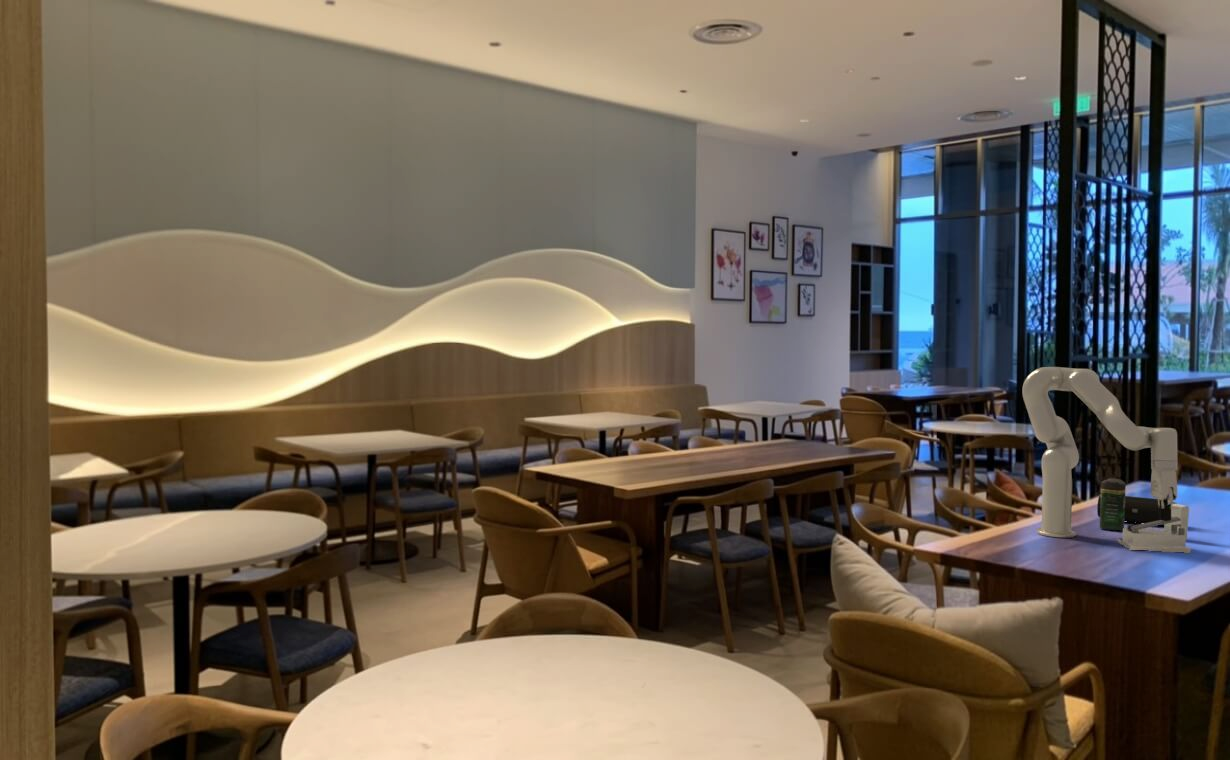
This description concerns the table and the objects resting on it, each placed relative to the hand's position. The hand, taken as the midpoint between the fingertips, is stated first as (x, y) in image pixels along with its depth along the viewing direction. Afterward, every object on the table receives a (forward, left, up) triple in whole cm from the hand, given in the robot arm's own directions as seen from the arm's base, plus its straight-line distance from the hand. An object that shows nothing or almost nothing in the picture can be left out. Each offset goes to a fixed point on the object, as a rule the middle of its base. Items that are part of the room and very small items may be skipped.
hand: (1165, 519), depth 302 cm
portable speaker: (-45, +7, -10) cm, 46 cm away
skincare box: (-17, +10, -10) cm, 22 cm away
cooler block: (-1, -3, -10) cm, 10 cm away
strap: (-1, -3, -2) cm, 4 cm away
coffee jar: (-31, -6, -10) cm, 33 cm away
